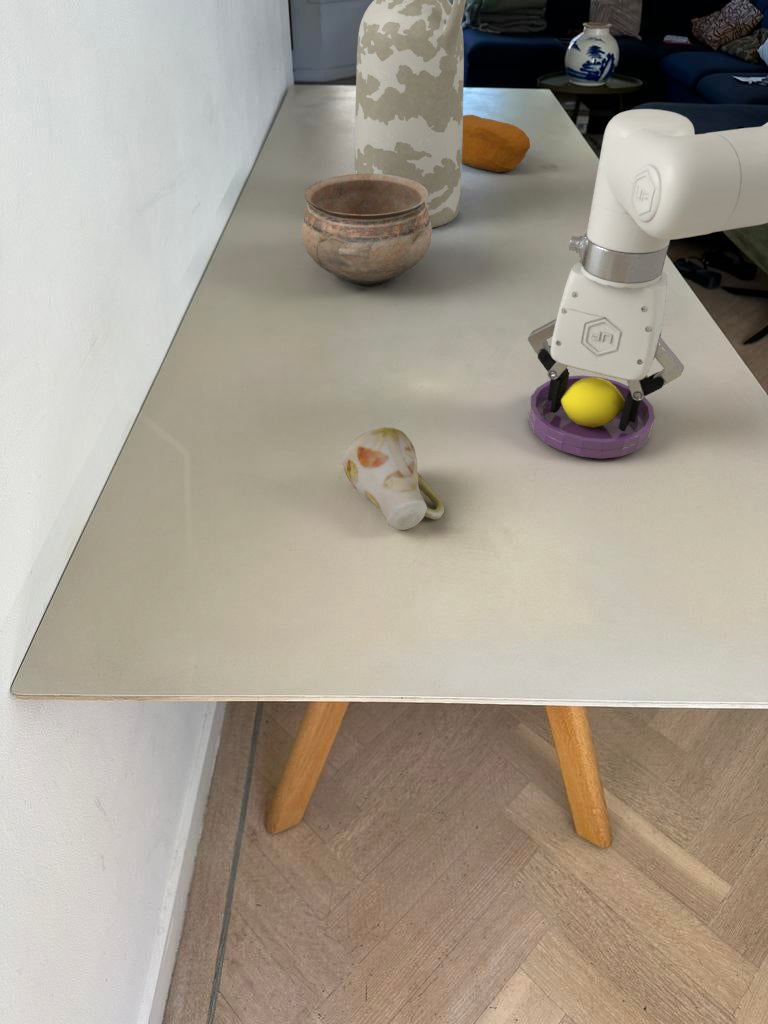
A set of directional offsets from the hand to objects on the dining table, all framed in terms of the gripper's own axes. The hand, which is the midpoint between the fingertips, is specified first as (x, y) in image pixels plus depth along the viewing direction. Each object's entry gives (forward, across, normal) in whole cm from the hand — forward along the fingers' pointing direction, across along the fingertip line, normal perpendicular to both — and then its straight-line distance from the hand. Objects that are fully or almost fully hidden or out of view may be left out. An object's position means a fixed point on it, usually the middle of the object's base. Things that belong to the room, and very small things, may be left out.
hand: (590, 414), depth 84 cm
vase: (+2, -47, +51) cm, 69 cm away
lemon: (+1, 0, 0) cm, 1 cm away
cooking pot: (+2, -41, +24) cm, 48 cm away
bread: (+2, -46, +86) cm, 98 cm away
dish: (+2, 0, 0) cm, 2 cm away
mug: (+2, -13, -22) cm, 26 cm away
